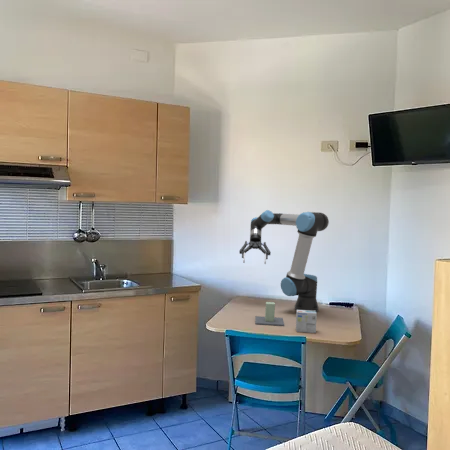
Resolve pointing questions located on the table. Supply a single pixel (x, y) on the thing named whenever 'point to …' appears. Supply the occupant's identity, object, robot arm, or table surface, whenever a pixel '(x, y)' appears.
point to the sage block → (270, 311)
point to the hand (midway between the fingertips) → (254, 262)
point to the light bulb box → (306, 321)
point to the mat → (261, 321)
